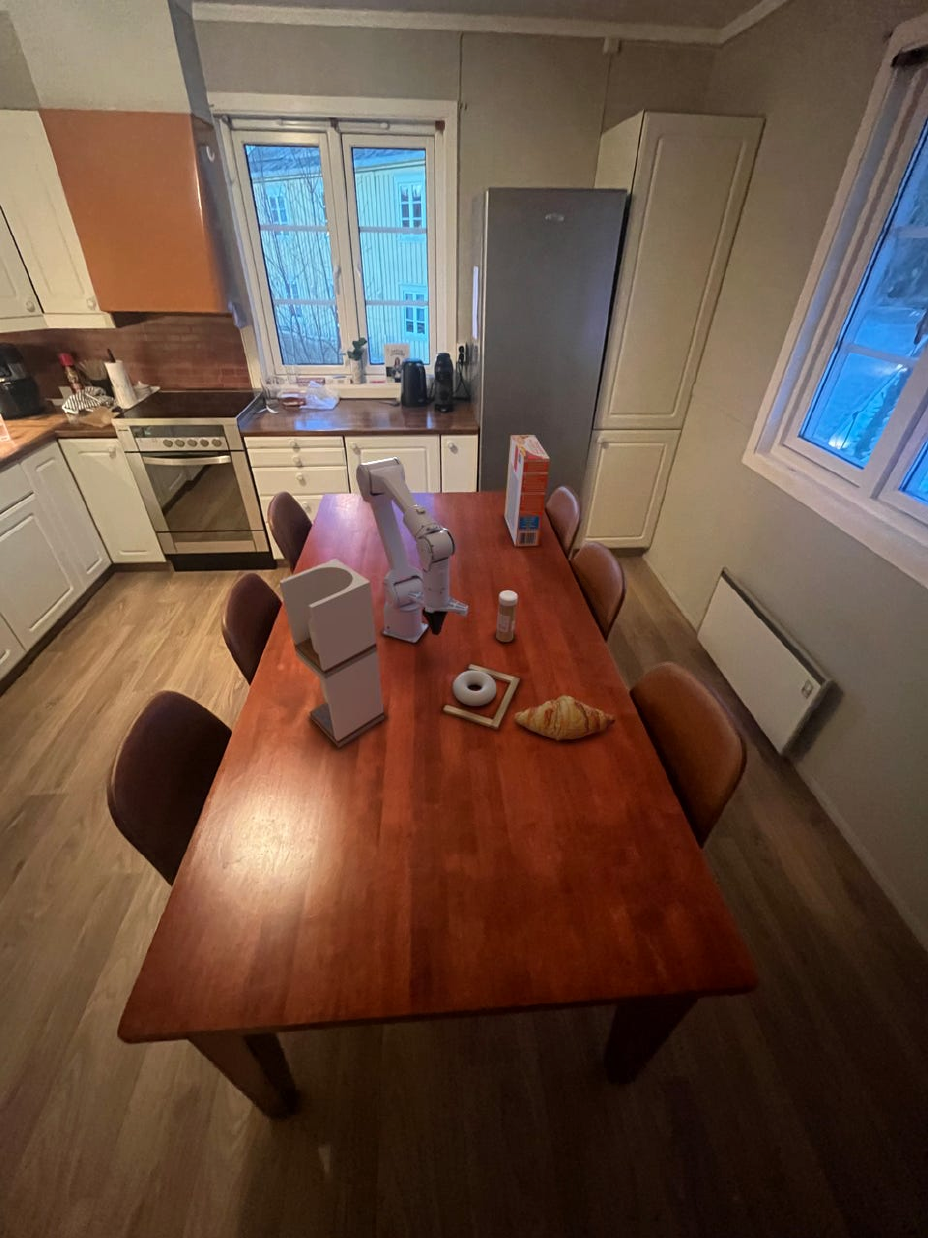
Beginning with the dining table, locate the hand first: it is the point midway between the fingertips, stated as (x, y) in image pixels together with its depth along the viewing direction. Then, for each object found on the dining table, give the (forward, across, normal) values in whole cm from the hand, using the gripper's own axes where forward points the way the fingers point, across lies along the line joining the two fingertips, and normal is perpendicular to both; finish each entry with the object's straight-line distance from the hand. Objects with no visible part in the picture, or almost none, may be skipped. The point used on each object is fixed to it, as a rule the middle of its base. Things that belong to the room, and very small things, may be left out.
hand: (436, 632), depth 117 cm
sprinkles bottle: (+10, +12, +16) cm, 22 cm away
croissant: (+10, +33, -7) cm, 35 cm away
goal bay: (+9, +14, -6) cm, 18 cm away
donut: (+10, +12, -6) cm, 17 cm away
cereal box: (+10, -2, +76) cm, 76 cm away
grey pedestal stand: (+10, -10, -24) cm, 28 cm away
